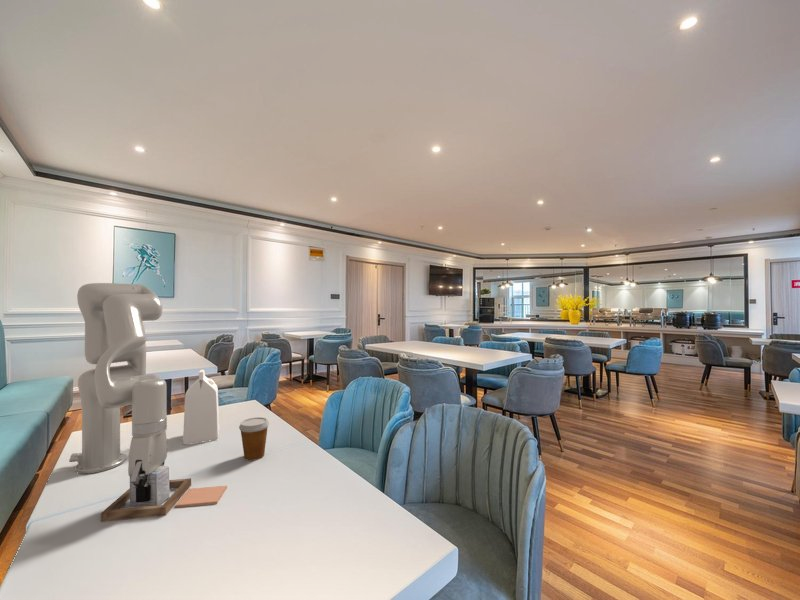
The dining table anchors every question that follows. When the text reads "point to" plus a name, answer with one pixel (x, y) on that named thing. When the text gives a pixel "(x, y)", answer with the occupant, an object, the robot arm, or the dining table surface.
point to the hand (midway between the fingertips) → (150, 494)
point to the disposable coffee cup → (254, 437)
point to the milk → (201, 411)
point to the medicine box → (154, 487)
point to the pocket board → (149, 511)
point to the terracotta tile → (201, 496)
